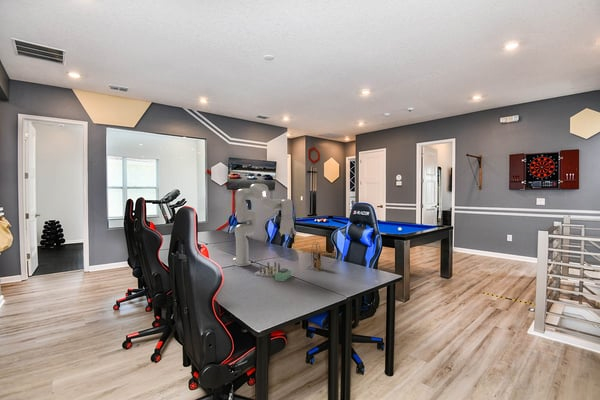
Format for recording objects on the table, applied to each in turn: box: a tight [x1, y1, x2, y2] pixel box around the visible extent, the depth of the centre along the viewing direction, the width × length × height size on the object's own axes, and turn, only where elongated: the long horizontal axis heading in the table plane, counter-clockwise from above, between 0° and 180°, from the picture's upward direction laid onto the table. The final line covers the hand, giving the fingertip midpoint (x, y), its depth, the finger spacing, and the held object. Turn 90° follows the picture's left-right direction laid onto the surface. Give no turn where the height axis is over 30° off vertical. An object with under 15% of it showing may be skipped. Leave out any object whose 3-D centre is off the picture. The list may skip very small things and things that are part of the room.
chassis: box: [254, 261, 283, 278], centre depth 204 cm, size 18×14×6 cm
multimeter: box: [309, 241, 324, 272], centre depth 211 cm, size 15×10×20 cm
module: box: [274, 267, 292, 282], centre depth 190 cm, size 12×6×6 cm, turn 157°
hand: (287, 242), depth 196 cm, fingers open, 9 cm apart
